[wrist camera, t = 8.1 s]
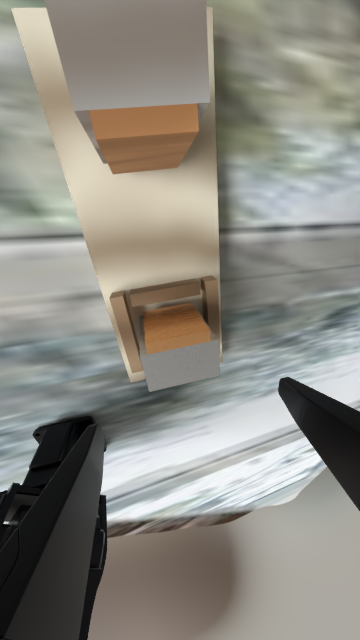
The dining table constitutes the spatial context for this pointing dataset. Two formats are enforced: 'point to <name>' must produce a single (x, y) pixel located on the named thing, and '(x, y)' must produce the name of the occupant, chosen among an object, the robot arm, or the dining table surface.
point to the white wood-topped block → (177, 347)
